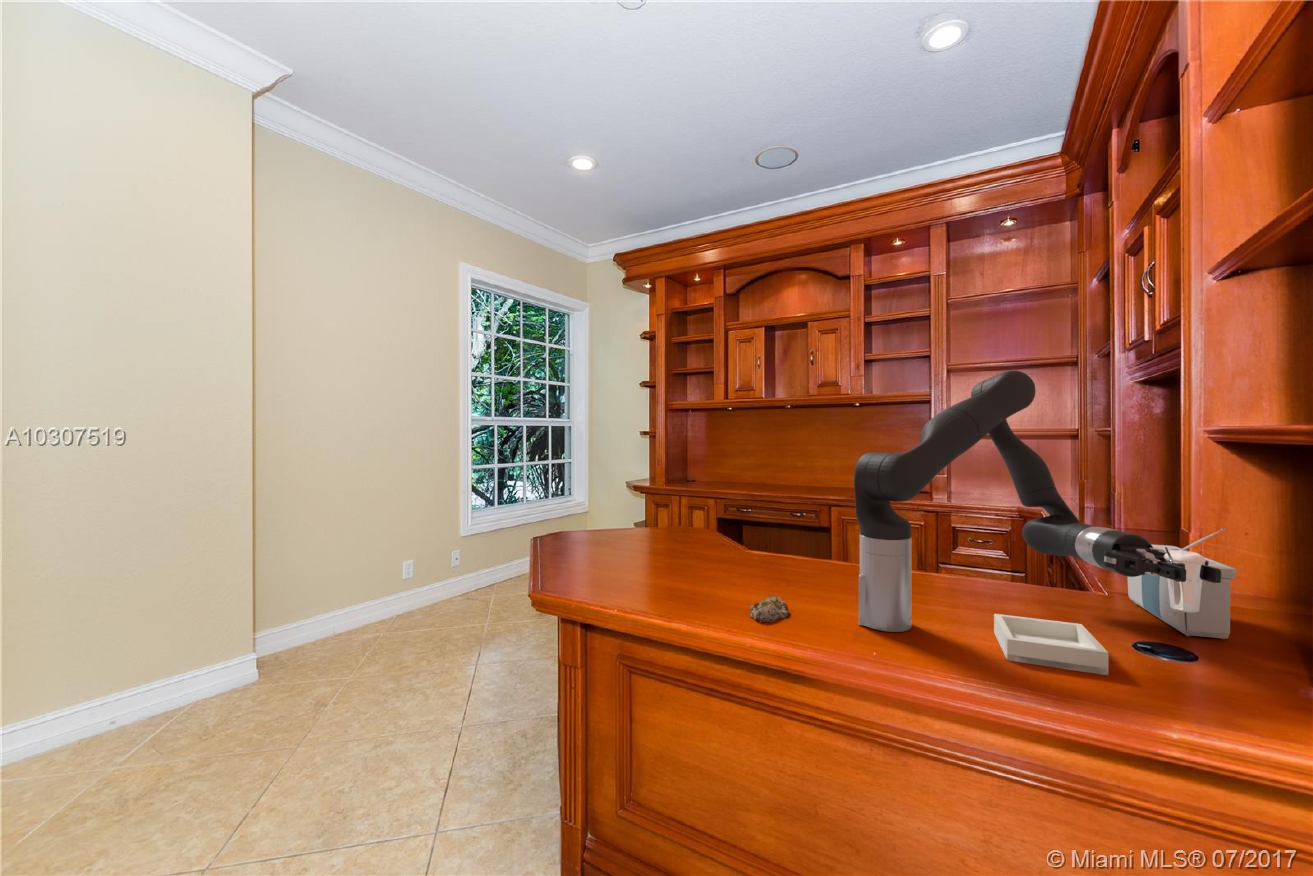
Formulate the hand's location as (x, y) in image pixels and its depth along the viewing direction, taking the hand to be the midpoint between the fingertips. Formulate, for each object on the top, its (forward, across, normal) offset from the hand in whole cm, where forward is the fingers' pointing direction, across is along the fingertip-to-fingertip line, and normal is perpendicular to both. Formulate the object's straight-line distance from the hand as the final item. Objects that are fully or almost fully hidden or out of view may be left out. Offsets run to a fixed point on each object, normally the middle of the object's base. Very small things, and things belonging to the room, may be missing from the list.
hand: (1200, 575), depth 79 cm
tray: (-8, -17, +16) cm, 24 cm away
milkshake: (-3, 0, +6) cm, 7 cm away
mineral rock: (-23, -61, +17) cm, 68 cm away
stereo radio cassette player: (-25, +18, +16) cm, 35 cm away
